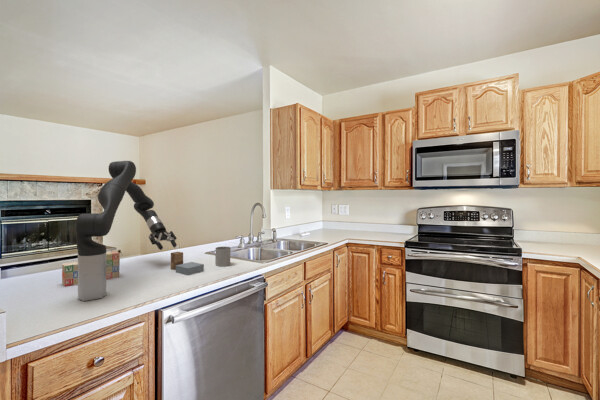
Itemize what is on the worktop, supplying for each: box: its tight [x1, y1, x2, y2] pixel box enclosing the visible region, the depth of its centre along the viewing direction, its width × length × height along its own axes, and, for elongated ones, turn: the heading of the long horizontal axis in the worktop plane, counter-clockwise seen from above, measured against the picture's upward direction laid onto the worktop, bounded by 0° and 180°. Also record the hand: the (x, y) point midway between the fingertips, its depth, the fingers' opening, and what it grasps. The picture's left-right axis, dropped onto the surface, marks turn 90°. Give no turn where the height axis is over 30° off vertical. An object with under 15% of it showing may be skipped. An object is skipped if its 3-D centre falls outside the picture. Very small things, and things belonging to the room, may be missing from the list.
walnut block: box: [170, 251, 184, 271], centre depth 159 cm, size 4×4×9 cm
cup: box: [214, 246, 231, 268], centre depth 169 cm, size 8×8×10 cm
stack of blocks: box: [61, 250, 121, 287], centre depth 137 cm, size 21×6×12 cm, turn 136°
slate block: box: [175, 261, 205, 276], centre depth 154 cm, size 10×10×4 cm
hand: (168, 247), depth 162 cm, fingers open, 8 cm apart
